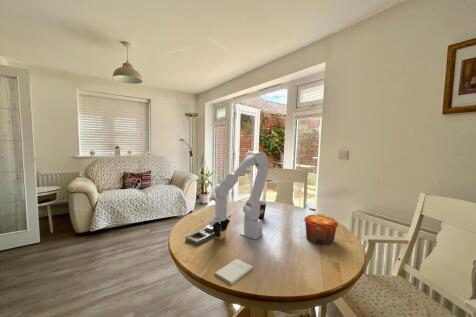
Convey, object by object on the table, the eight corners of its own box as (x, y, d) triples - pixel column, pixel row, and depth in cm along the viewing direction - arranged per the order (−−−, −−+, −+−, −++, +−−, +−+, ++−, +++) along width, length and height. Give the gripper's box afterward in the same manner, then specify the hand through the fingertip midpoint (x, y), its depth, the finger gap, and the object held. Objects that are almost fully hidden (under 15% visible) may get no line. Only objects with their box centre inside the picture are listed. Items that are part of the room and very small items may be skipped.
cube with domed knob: (215, 233, 109) (216, 225, 109) (210, 236, 106) (211, 228, 105) (210, 231, 111) (210, 224, 111) (205, 234, 108) (205, 226, 108)
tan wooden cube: (225, 237, 105) (225, 229, 104) (220, 240, 101) (220, 232, 101) (219, 235, 107) (219, 227, 107) (214, 238, 104) (214, 230, 103)
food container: (333, 235, 111) (334, 216, 110) (339, 250, 95) (341, 227, 95) (302, 231, 115) (303, 212, 114) (303, 244, 100) (305, 222, 99)
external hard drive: (214, 276, 75) (236, 261, 84) (231, 286, 69) (252, 270, 79) (214, 272, 74) (236, 258, 84) (231, 282, 69) (252, 265, 79)
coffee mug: (265, 215, 138) (266, 201, 137) (265, 220, 130) (266, 205, 129) (248, 214, 139) (248, 200, 138) (247, 219, 131) (247, 204, 130)
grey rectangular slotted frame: (221, 232, 110) (222, 229, 110) (197, 245, 95) (197, 241, 95) (210, 228, 114) (210, 225, 114) (185, 240, 100) (185, 236, 100)
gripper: (223, 203, 111) (223, 228, 112) (204, 210, 99) (204, 237, 100) (234, 206, 107) (233, 231, 108) (215, 213, 95) (215, 242, 96)
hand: (220, 235), depth 104 cm, fingers closed on tan wooden cube, 4 cm apart
